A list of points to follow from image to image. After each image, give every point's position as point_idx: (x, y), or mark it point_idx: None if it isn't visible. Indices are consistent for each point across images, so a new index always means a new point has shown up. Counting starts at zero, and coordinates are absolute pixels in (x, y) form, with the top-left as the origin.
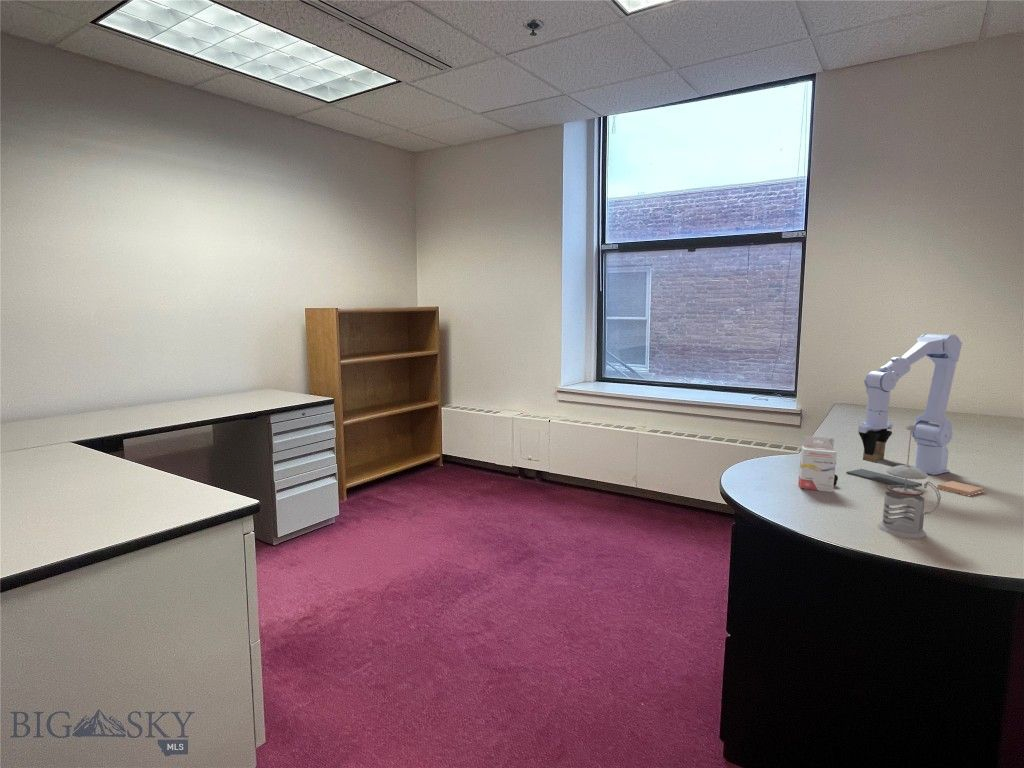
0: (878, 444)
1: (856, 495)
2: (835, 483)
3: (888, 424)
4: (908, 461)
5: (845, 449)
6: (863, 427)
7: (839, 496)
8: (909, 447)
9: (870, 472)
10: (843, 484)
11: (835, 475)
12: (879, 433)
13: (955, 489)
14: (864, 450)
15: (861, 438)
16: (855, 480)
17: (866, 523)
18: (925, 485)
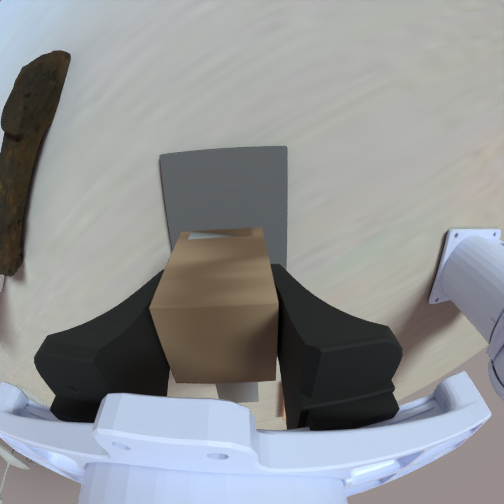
0: (184, 379)
1: (33, 326)
2: (19, 263)
3: (381, 479)
4: (7, 467)
5: (489, 4)
6: (10, 439)
7: (4, 312)
8: (3, 480)
9: (259, 207)
10: (46, 260)
11: (4, 274)
12: (293, 401)
13: (284, 405)
14: (153, 277)
15: (90, 323)
16: (109, 245)
17: (6, 377)
18: (27, 459)
